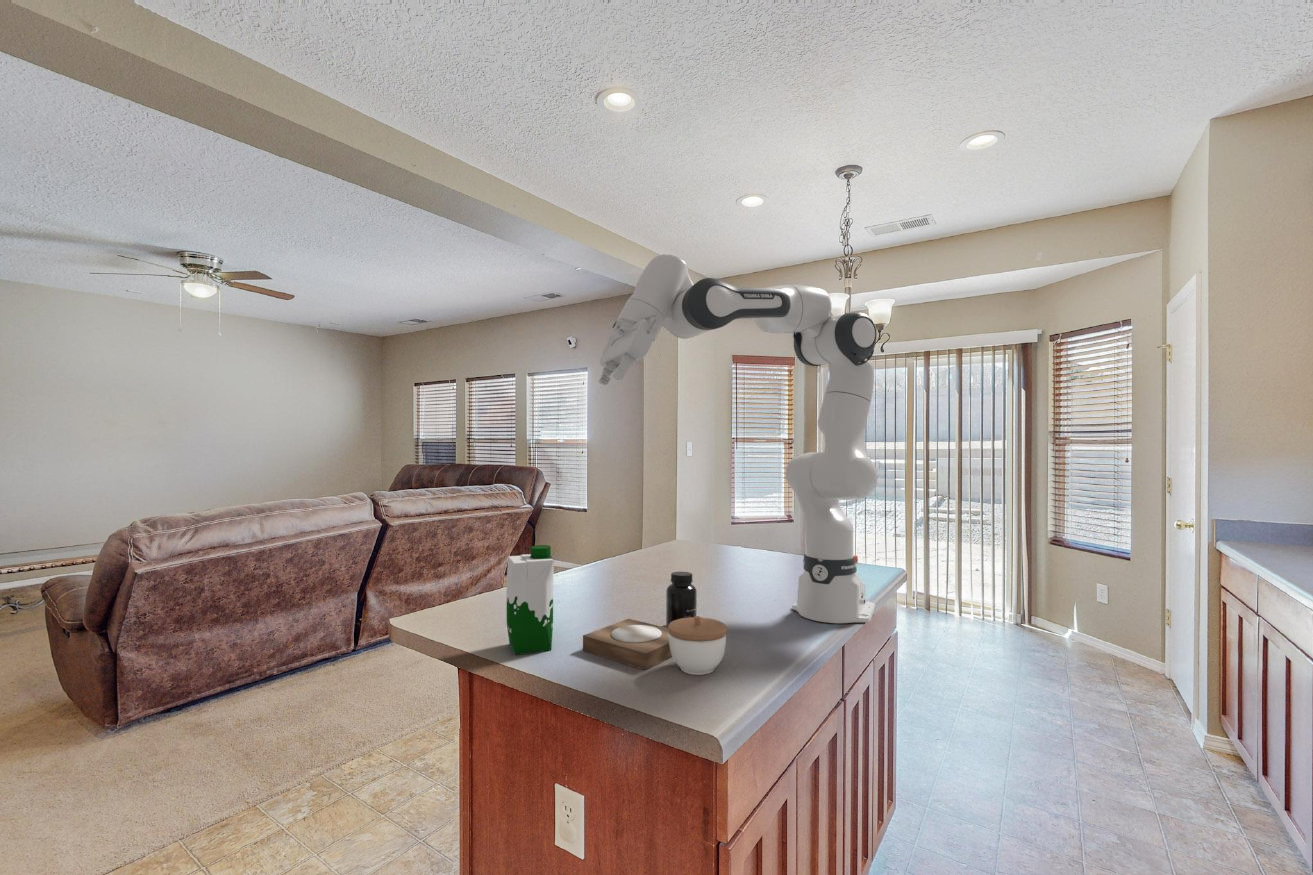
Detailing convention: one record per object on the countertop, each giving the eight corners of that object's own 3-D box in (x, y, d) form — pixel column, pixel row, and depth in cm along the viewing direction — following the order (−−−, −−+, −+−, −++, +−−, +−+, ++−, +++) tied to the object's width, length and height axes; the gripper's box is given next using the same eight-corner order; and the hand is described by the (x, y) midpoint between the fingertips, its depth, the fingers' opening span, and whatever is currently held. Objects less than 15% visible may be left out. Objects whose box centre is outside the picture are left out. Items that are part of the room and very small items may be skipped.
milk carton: (557, 651, 112) (557, 549, 112) (510, 657, 109) (510, 552, 109) (547, 637, 120) (547, 542, 121) (503, 643, 117) (504, 545, 117)
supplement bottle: (694, 633, 123) (694, 577, 123) (663, 631, 124) (663, 576, 125) (698, 623, 130) (698, 570, 130) (669, 621, 131) (669, 569, 131)
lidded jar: (725, 682, 97) (725, 627, 97) (663, 678, 99) (663, 624, 99) (728, 659, 108) (728, 609, 108) (672, 655, 110) (672, 607, 110)
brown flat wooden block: (628, 632, 123) (628, 617, 123) (689, 648, 114) (689, 631, 114) (582, 650, 112) (582, 633, 112) (646, 670, 103) (646, 651, 103)
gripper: (672, 321, 109) (640, 383, 106) (634, 340, 128) (607, 393, 125) (645, 303, 107) (612, 365, 104) (611, 325, 126) (582, 379, 123)
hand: (609, 381), depth 115 cm, fingers open, 8 cm apart
